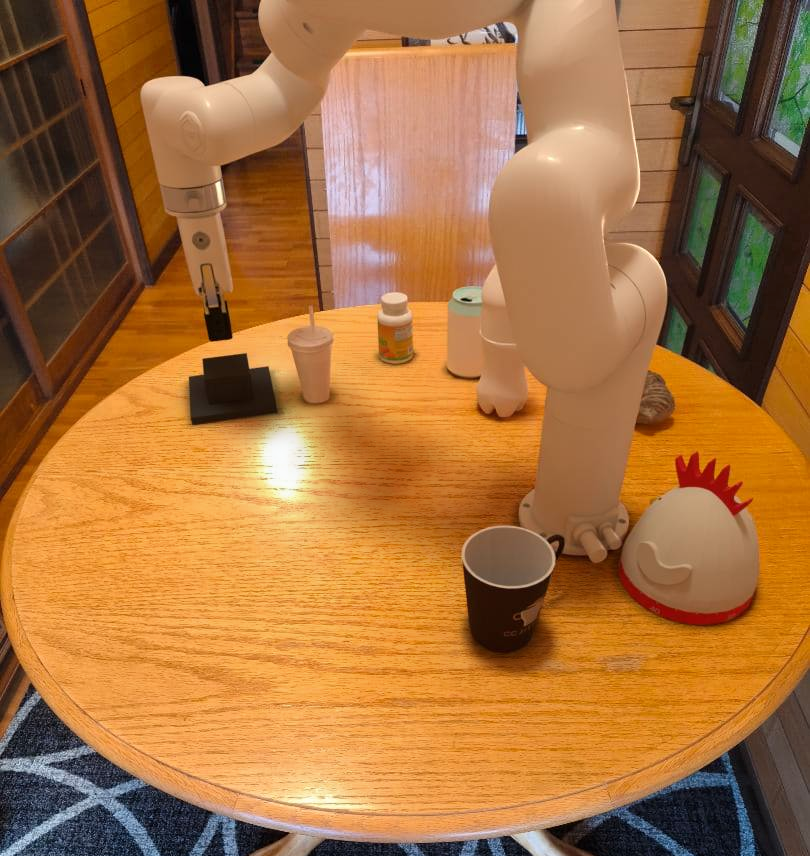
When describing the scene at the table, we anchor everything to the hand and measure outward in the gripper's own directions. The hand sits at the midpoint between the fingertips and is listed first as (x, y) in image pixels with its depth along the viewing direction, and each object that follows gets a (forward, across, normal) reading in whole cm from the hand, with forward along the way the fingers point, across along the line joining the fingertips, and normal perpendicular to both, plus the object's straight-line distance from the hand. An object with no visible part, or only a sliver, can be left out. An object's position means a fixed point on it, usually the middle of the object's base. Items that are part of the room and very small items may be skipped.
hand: (220, 333), depth 105 cm
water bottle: (+10, -13, -37) cm, 41 cm away
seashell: (+10, -20, -54) cm, 59 cm away
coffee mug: (+10, -53, -25) cm, 60 cm away
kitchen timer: (+10, -51, -45) cm, 69 cm away
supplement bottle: (+10, +6, -26) cm, 29 cm away
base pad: (+10, 0, 0) cm, 10 cm away
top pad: (+9, 0, 0) cm, 9 cm away
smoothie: (+10, -3, -12) cm, 16 cm away
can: (+10, -1, -36) cm, 37 cm away
